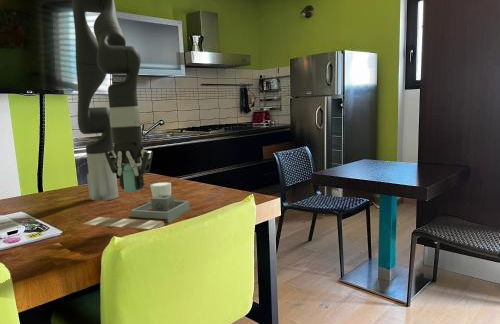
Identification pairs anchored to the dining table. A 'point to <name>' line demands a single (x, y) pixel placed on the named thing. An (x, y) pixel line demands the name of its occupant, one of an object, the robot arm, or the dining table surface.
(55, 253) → the dining table surface
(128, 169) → the pawn
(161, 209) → the dice cube
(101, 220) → the track
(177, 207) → the tray
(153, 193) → the shot glass
